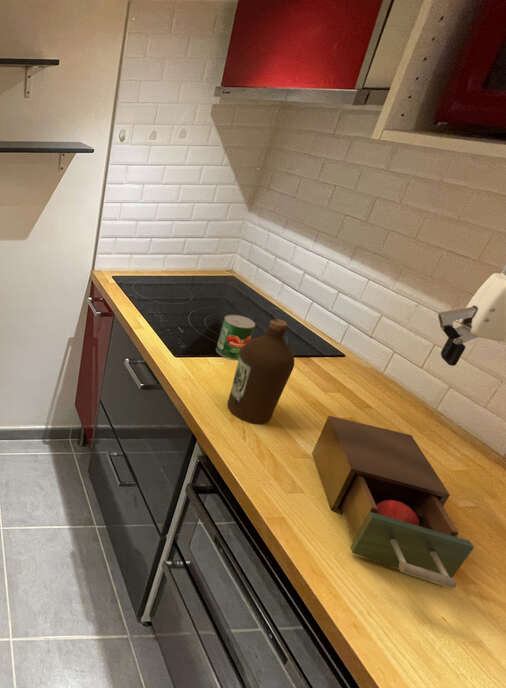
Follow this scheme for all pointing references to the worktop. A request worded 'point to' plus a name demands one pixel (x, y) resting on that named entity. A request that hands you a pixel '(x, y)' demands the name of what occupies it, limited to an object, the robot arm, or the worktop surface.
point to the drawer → (404, 531)
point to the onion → (397, 511)
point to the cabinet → (371, 459)
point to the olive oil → (261, 375)
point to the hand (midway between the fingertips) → (485, 368)
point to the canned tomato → (234, 336)
